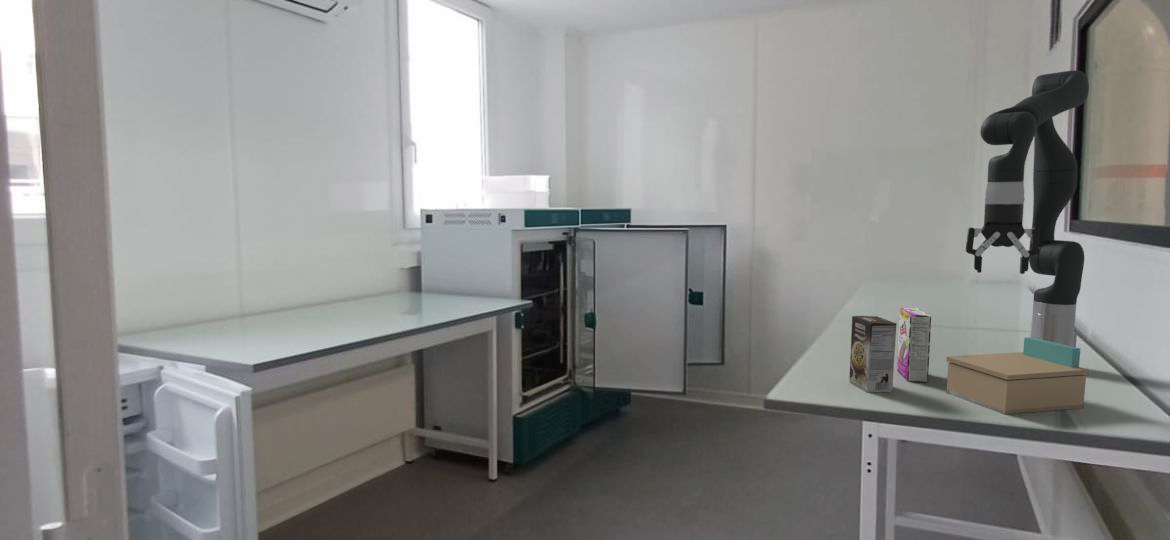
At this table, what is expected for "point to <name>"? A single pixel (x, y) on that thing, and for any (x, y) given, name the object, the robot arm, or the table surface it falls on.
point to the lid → (1027, 361)
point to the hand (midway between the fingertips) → (1000, 272)
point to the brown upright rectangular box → (872, 353)
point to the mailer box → (1016, 391)
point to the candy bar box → (913, 344)
